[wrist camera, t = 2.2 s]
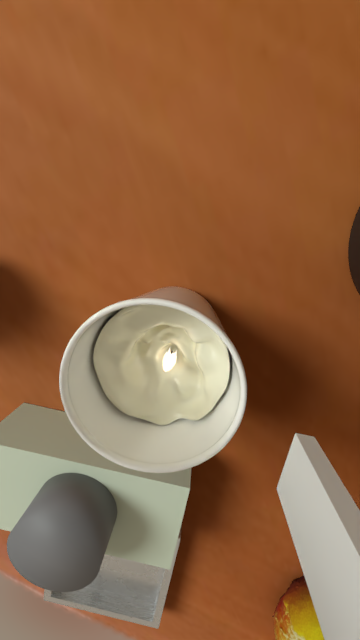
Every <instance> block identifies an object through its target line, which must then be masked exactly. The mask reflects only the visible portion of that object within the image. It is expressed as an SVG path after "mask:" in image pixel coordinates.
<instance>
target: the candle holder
mask: <svg viewBox="0 0 360 640" xmlns="http://www.w3.org/2000/svg"><path fill="white" fill-rule="evenodd" d="M59 386H60V394H61V399H62V403H63V406H64V409H65V412H66V414H67V416H68V418H69V420H70V422H71V424H72V426H73V427H74V429H75V430H76V431H77V433H78V434H79V435H80V437H81V438H82V439H83V440H84V441H85V442H86V443H87V444H88V445H89V446H90V447H91V448H92V449H94V450H95V451H96V452H97V453H99V454H100V455H102V456H103V457H105V458H106V459H108V460H110V461H112V462H114V463H116V464H118V465H121V466H123V467H126V468H129V469H132V470H137V471H141V472H149V473H170V472H177V471H182V470H185V469H189V468H192V467H194V466H197V465H199V464H201V463H203V462H205V461H207V460H208V459H210V458H212V457H213V456H214V455H216V454H217V453H218V452H219V451H221V450H222V449H223V448H224V447H225V446H226V445H227V443H228V442H229V441H230V440H231V439H232V437H233V436H234V434H235V433H236V431H237V429H238V427H239V425H240V423H241V421H242V418H243V415H244V412H245V408H246V402H247V380H246V374H245V370H244V366H243V363H242V360H241V358H240V356H239V353H238V351H237V349H236V348H235V346H234V344H233V343H232V341H231V340H230V338H229V337H228V335H227V333H226V331H225V329H224V327H223V325H222V323H221V322H220V320H219V318H218V316H217V314H216V312H215V310H214V309H213V307H212V306H211V305H210V303H209V302H208V301H207V300H206V299H205V298H203V297H202V296H201V295H199V294H198V293H196V292H194V291H192V290H190V289H187V288H183V287H163V288H159V289H156V290H153V291H150V292H148V293H145V294H142V295H140V296H137V297H135V298H132V299H129V300H125V301H121V302H118V303H115V304H112V305H110V306H108V307H106V308H104V309H102V310H100V311H98V312H97V313H95V314H94V315H93V316H91V317H90V318H89V319H88V320H86V321H85V322H84V323H83V324H82V325H81V326H80V327H79V329H78V330H77V331H76V332H75V334H74V335H73V336H72V338H71V340H70V341H69V343H68V345H67V347H66V350H65V352H64V355H63V358H62V362H61V366H60V375H59Z"/></svg>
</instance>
